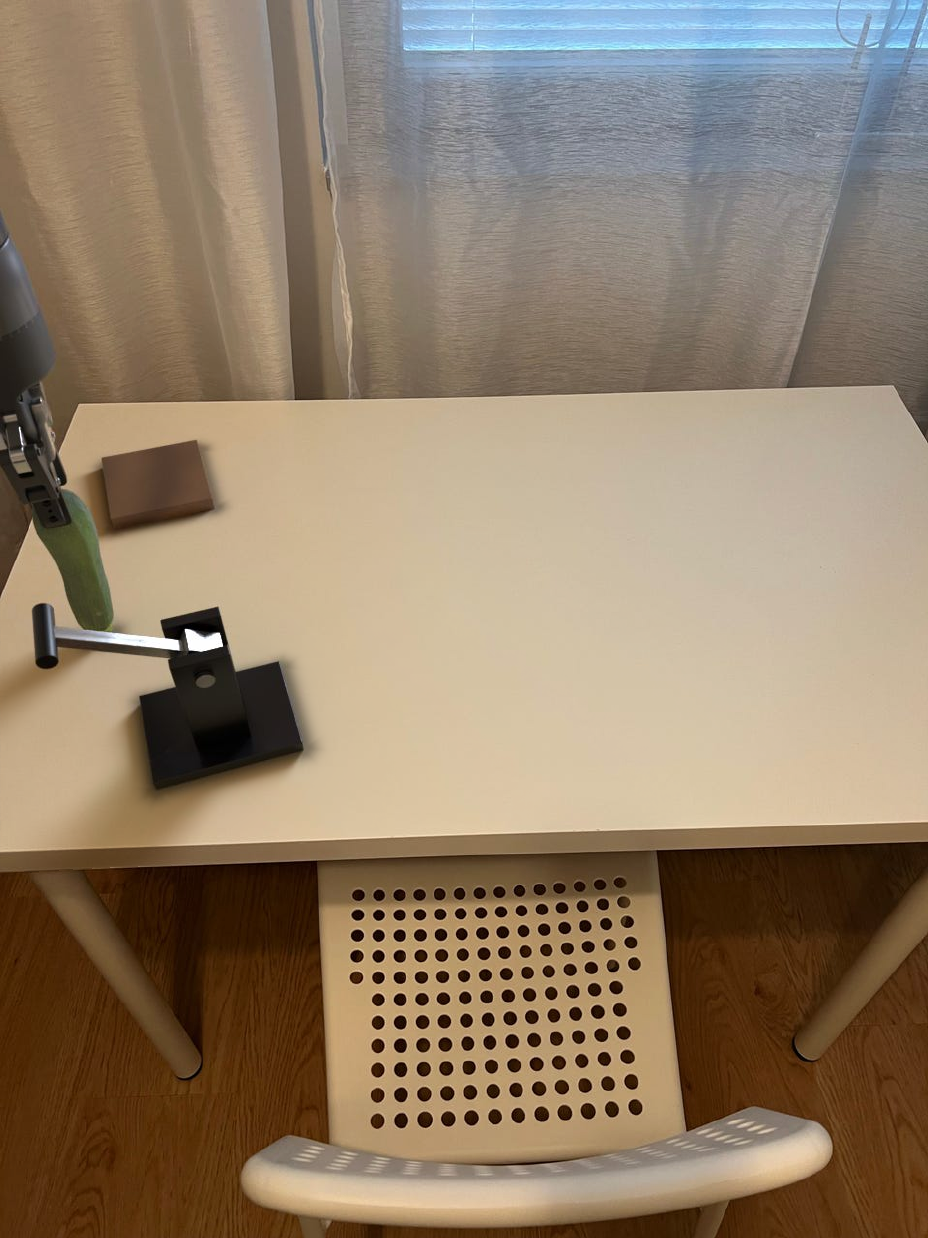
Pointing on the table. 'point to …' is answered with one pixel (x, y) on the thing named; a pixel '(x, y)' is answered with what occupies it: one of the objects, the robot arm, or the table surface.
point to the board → (156, 484)
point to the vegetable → (80, 565)
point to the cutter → (215, 711)
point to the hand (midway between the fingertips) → (55, 503)
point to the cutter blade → (109, 640)
